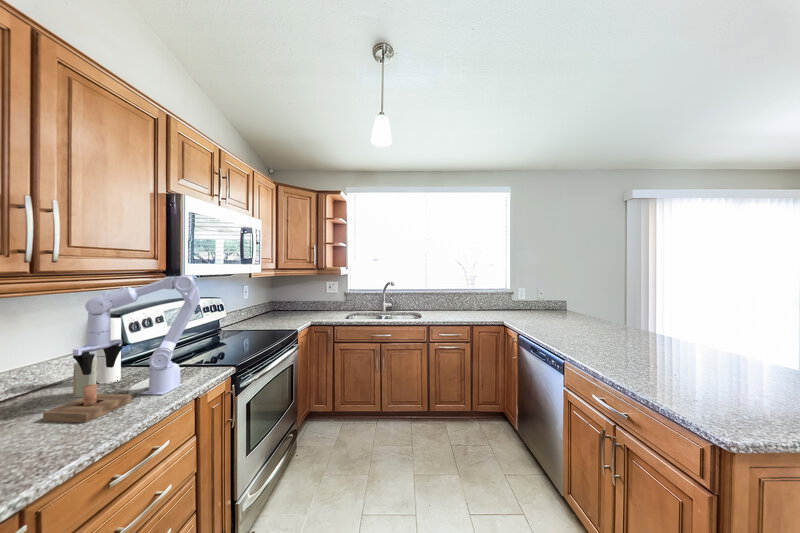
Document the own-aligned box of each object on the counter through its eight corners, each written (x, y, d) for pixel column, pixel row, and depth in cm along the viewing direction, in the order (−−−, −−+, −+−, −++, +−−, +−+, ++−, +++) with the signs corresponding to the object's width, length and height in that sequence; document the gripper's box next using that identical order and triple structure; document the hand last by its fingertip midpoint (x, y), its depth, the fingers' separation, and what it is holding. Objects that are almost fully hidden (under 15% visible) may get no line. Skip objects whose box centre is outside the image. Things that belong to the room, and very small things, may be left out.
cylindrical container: (118, 381, 124) (119, 319, 124) (94, 385, 120) (95, 321, 120) (122, 376, 130) (122, 317, 130) (98, 379, 126) (99, 318, 126)
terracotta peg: (90, 408, 100) (90, 384, 100) (99, 408, 100) (99, 384, 100) (80, 412, 97) (80, 387, 97) (89, 413, 97) (89, 387, 97)
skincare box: (80, 392, 113) (81, 359, 113) (96, 390, 115) (97, 357, 115) (72, 398, 108) (72, 363, 108) (89, 396, 110) (89, 362, 110)
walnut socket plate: (93, 400, 106) (93, 393, 106) (131, 402, 105) (131, 394, 105) (43, 420, 92) (43, 412, 92) (86, 422, 91) (86, 414, 91)
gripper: (109, 327, 113) (109, 363, 113) (64, 335, 99) (63, 377, 99) (127, 327, 113) (127, 364, 113) (84, 336, 98) (83, 378, 98)
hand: (98, 370), depth 106 cm, fingers open, 7 cm apart
